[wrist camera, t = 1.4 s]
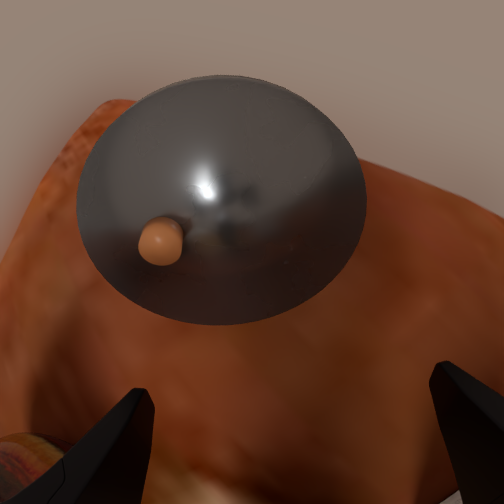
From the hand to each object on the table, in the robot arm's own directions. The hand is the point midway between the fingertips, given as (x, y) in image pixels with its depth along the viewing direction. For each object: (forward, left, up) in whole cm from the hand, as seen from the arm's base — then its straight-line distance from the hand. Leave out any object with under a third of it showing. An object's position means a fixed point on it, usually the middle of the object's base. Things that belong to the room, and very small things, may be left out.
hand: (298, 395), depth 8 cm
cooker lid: (+1, +8, -3) cm, 9 cm away
